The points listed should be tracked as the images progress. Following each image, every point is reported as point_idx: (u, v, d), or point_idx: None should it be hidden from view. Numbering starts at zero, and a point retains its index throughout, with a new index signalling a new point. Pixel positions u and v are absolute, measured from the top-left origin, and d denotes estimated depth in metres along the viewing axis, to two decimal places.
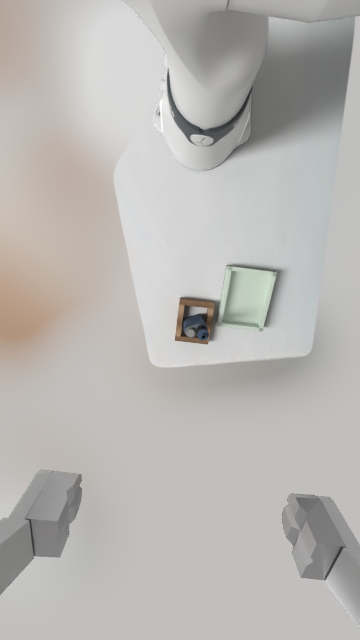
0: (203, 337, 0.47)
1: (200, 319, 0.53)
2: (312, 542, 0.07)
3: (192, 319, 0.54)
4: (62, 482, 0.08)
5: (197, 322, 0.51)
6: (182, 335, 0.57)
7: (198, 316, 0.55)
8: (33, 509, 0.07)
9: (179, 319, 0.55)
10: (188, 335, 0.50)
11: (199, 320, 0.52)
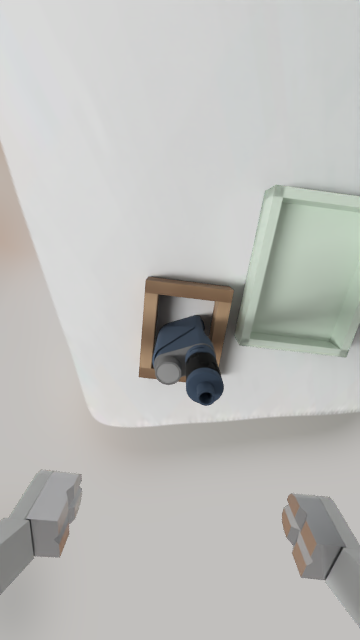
0: (205, 396, 0.14)
1: (197, 331, 0.20)
2: (312, 542, 0.07)
3: (177, 330, 0.22)
4: (62, 482, 0.08)
5: (188, 340, 0.19)
6: None
7: (193, 322, 0.22)
8: (33, 509, 0.07)
9: (146, 329, 0.23)
10: (162, 378, 0.18)
11: (194, 334, 0.20)
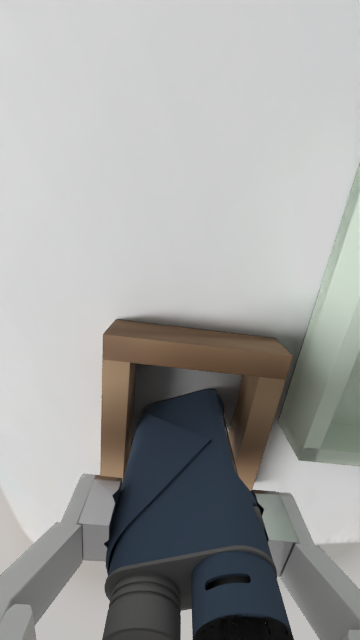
0: None
1: (217, 459, 0.09)
2: (266, 538, 0.07)
3: (171, 440, 0.10)
4: (107, 486, 0.08)
5: (199, 504, 0.07)
6: None
7: (205, 416, 0.11)
8: (83, 514, 0.07)
9: (110, 427, 0.11)
10: None
11: (211, 473, 0.08)
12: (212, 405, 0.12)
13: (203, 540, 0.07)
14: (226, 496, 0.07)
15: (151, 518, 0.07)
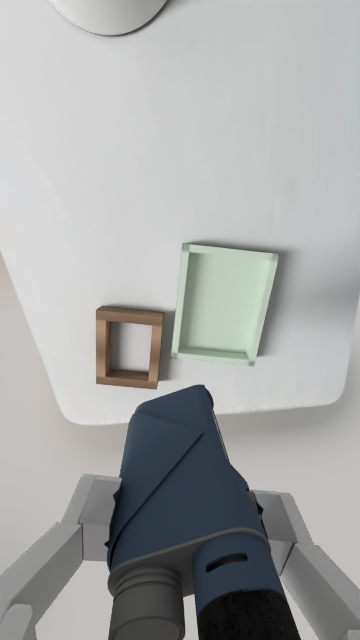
0: None
1: (210, 450, 0.09)
2: None
3: (165, 436, 0.10)
4: (107, 486, 0.08)
5: (195, 494, 0.08)
6: (110, 373, 0.32)
7: (196, 410, 0.11)
8: (84, 514, 0.07)
9: (99, 346, 0.30)
10: None
11: (205, 464, 0.09)
12: (202, 399, 0.12)
13: (201, 527, 0.07)
14: (221, 484, 0.08)
15: (150, 512, 0.08)
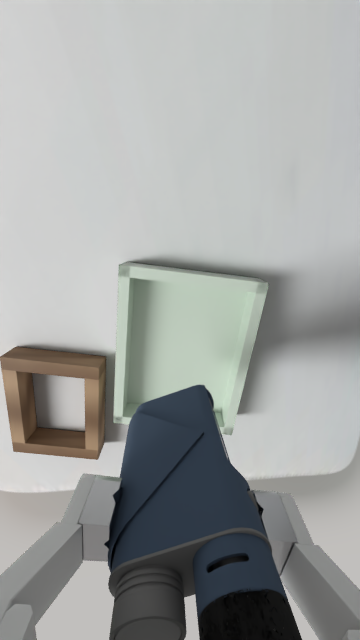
0: None
1: (210, 450, 0.09)
2: None
3: (165, 437, 0.10)
4: (107, 486, 0.08)
5: (196, 495, 0.08)
6: (35, 436, 0.23)
7: (196, 410, 0.11)
8: (84, 514, 0.07)
9: (12, 405, 0.21)
10: None
11: (206, 464, 0.09)
12: (202, 399, 0.12)
13: (202, 527, 0.07)
14: (221, 484, 0.08)
15: (150, 512, 0.08)
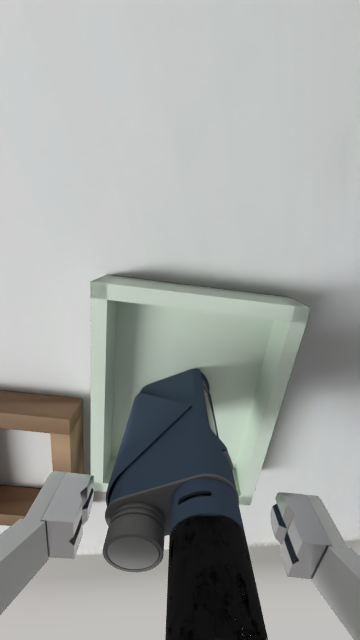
0: None
1: (195, 419, 0.10)
2: (298, 541, 0.07)
3: (159, 410, 0.12)
4: (75, 483, 0.08)
5: (177, 451, 0.09)
6: None
7: (189, 389, 0.13)
8: (48, 510, 0.07)
9: None
10: (121, 562, 0.08)
11: (189, 429, 0.10)
12: (195, 380, 0.13)
13: (178, 474, 0.08)
14: (199, 443, 0.09)
15: (140, 465, 0.09)
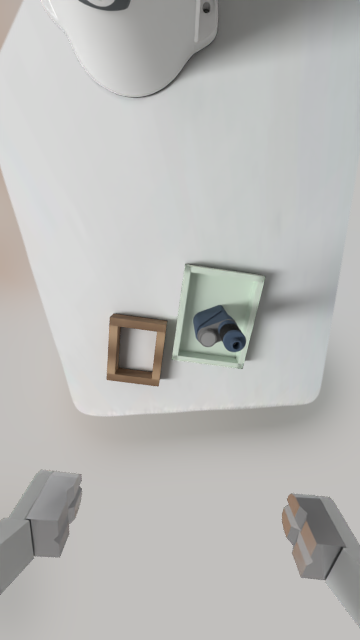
0: (235, 346, 0.24)
1: (223, 313, 0.30)
2: (312, 542, 0.07)
3: (208, 314, 0.31)
4: (62, 482, 0.08)
5: (218, 318, 0.29)
6: (119, 371, 0.37)
7: (218, 309, 0.32)
8: (33, 509, 0.07)
9: (111, 348, 0.35)
10: (204, 343, 0.27)
11: (221, 315, 0.29)
12: (220, 307, 0.33)
13: (220, 321, 0.28)
14: (225, 316, 0.29)
15: (206, 323, 0.29)
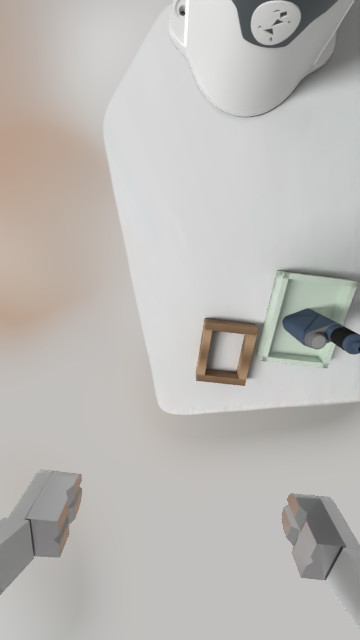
0: (357, 349, 0.26)
1: (322, 317, 0.32)
2: (312, 542, 0.07)
3: (304, 318, 0.33)
4: (62, 482, 0.08)
5: (322, 322, 0.31)
6: (207, 372, 0.39)
7: (311, 312, 0.34)
8: (33, 509, 0.07)
9: (204, 351, 0.37)
10: (314, 346, 0.29)
11: (322, 319, 0.31)
12: (312, 310, 0.35)
13: (327, 324, 0.30)
14: (328, 320, 0.31)
15: (310, 327, 0.31)
